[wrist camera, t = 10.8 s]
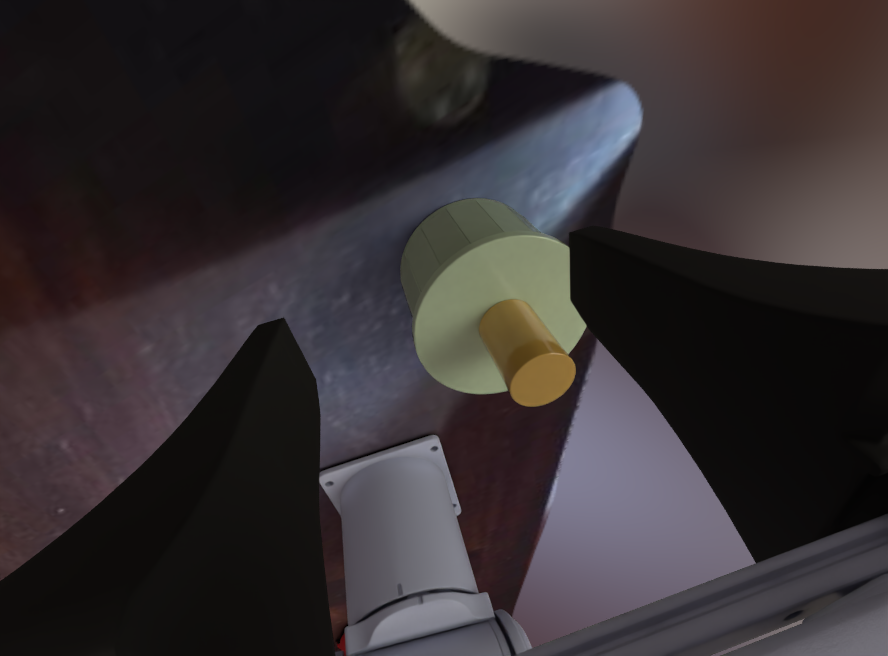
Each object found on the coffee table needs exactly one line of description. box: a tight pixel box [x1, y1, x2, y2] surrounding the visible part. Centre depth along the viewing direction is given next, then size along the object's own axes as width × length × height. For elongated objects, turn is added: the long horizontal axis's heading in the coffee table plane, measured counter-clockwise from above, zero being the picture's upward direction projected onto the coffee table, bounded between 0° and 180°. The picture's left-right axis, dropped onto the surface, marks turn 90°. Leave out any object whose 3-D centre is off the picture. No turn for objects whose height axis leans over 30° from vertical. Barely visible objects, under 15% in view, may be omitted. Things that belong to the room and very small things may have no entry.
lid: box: [412, 231, 587, 407], centre depth 17 cm, size 8×8×5 cm
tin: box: [400, 198, 541, 318], centre depth 20 cm, size 7×7×5 cm
